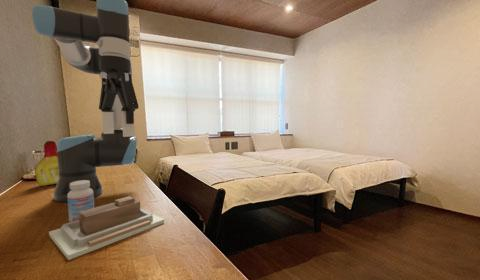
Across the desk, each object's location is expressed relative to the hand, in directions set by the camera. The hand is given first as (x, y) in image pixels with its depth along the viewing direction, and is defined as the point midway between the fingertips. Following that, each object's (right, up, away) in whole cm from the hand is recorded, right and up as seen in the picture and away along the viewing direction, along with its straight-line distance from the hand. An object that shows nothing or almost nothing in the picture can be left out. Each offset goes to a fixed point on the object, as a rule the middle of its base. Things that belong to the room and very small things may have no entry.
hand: (118, 135), depth 63 cm
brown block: (+1, -24, -4) cm, 24 cm away
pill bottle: (-11, -25, +1) cm, 27 cm away
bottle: (-51, -22, +39) cm, 68 cm away
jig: (0, -25, -4) cm, 25 cm away
